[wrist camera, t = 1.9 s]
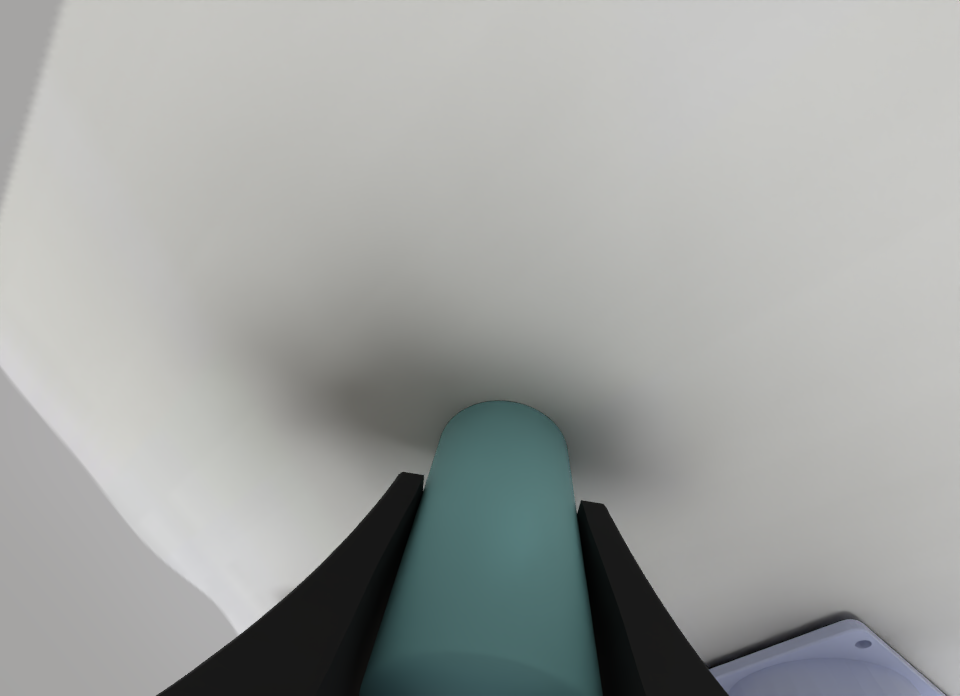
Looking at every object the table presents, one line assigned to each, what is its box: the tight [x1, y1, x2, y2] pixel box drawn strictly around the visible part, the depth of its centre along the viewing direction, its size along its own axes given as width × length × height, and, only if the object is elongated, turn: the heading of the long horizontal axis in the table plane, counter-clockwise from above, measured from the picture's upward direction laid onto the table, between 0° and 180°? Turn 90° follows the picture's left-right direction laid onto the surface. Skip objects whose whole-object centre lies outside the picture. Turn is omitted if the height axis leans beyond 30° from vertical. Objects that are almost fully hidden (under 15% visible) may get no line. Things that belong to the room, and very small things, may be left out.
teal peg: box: [359, 401, 603, 696], centre depth 10 cm, size 4×4×7 cm
